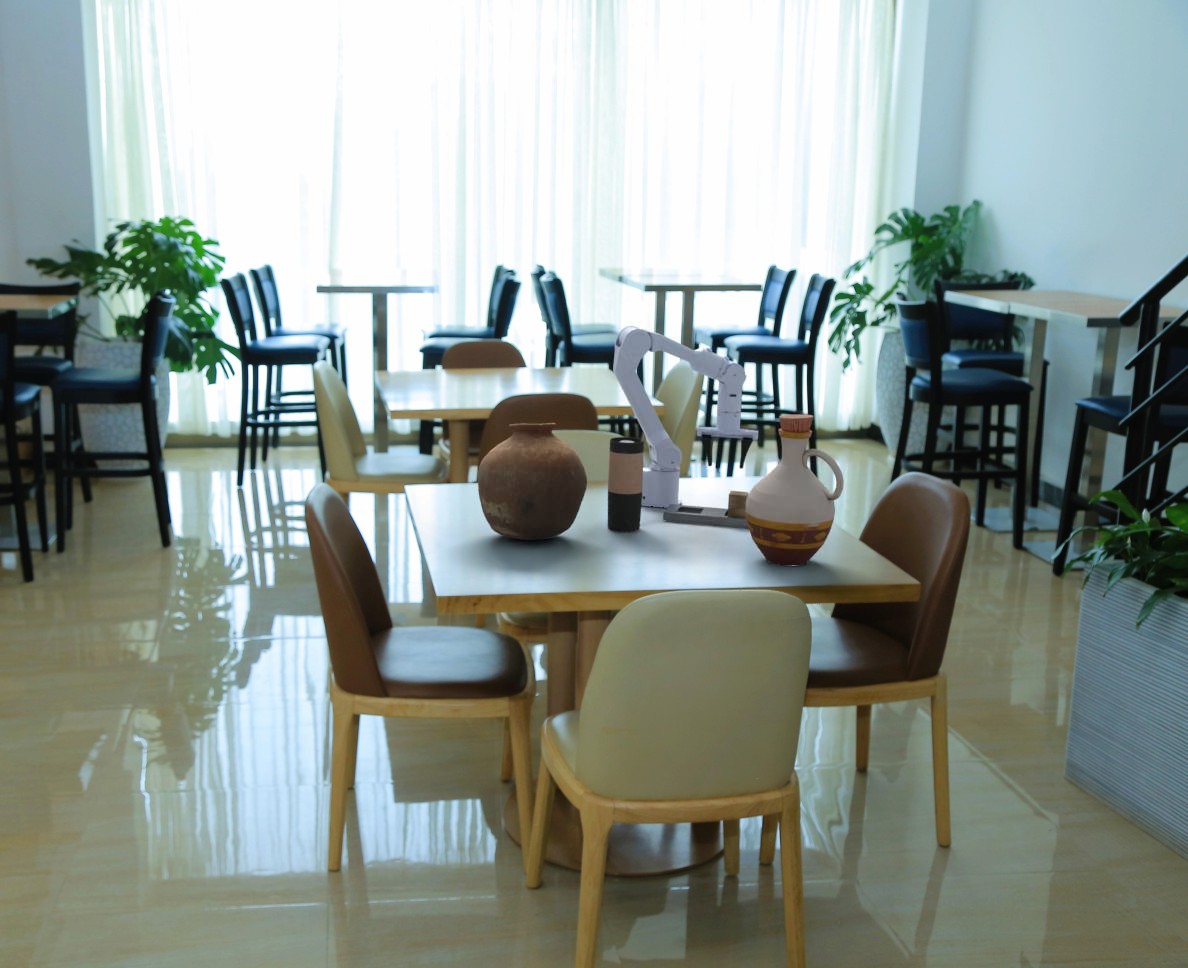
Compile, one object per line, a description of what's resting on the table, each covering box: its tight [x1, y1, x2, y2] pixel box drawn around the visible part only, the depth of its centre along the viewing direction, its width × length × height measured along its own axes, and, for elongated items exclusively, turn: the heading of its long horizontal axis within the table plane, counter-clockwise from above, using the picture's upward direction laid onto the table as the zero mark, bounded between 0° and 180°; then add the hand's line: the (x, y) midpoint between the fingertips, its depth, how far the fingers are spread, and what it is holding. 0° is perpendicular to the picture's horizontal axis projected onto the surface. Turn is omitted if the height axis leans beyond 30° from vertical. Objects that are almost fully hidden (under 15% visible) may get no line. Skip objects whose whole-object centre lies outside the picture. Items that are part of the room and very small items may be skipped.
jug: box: [746, 414, 845, 566], centre depth 238 cm, size 20×18×30 cm
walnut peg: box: [727, 490, 749, 518], centre depth 272 cm, size 4×4×7 cm
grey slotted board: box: [662, 504, 749, 529], centre depth 274 cm, size 22×9×2 cm, turn 76°
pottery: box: [477, 422, 588, 541], centre depth 251 cm, size 23×23×25 cm
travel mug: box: [607, 436, 645, 533], centre depth 262 cm, size 8×8×20 cm
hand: (725, 466), depth 290 cm, fingers open, 7 cm apart
